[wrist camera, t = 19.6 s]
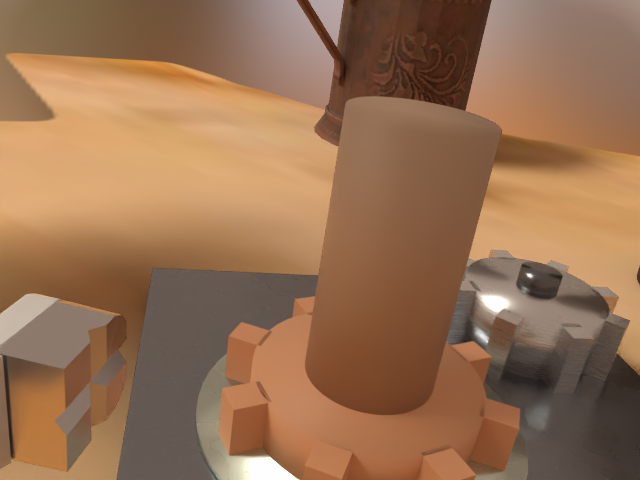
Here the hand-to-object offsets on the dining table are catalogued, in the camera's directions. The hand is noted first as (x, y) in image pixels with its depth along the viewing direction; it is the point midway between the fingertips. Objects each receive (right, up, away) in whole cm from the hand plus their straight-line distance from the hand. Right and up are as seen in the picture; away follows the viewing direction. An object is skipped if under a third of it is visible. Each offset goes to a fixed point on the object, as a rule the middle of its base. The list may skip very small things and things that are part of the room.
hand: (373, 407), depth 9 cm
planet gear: (+1, -4, +15) cm, 16 cm away
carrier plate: (+3, -5, +18) cm, 19 cm away
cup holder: (+5, +14, +63) cm, 65 cm away
